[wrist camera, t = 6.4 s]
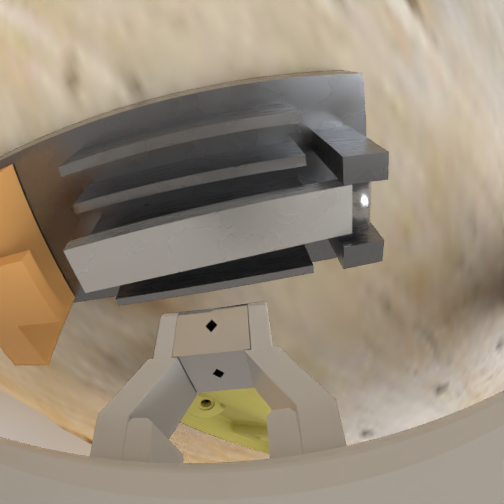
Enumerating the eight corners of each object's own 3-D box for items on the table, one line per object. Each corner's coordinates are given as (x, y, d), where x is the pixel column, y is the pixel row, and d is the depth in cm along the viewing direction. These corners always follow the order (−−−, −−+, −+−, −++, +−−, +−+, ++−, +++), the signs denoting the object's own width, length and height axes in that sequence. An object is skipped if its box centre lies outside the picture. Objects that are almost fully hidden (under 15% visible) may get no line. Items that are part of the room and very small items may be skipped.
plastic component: (139, 403, 29) (185, 410, 22) (165, 344, 34) (215, 331, 27) (272, 455, 37) (332, 461, 30) (285, 407, 41) (344, 404, 35)
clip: (50, 147, 14) (-11, 193, 9) (111, 291, 20) (89, 363, 15) (-19, 178, 14) (-76, 228, 9) (43, 302, 20) (15, 365, 15)
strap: (363, 172, 14) (376, 182, 13) (362, 218, 15) (373, 230, 14) (69, 238, 13) (61, 253, 12) (89, 279, 14) (84, 295, 13)
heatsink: (342, 70, 16) (408, 83, 10) (348, 228, 22) (393, 298, 16) (-10, 161, 16) (-75, 212, 10) (47, 283, 23) (12, 353, 16)
